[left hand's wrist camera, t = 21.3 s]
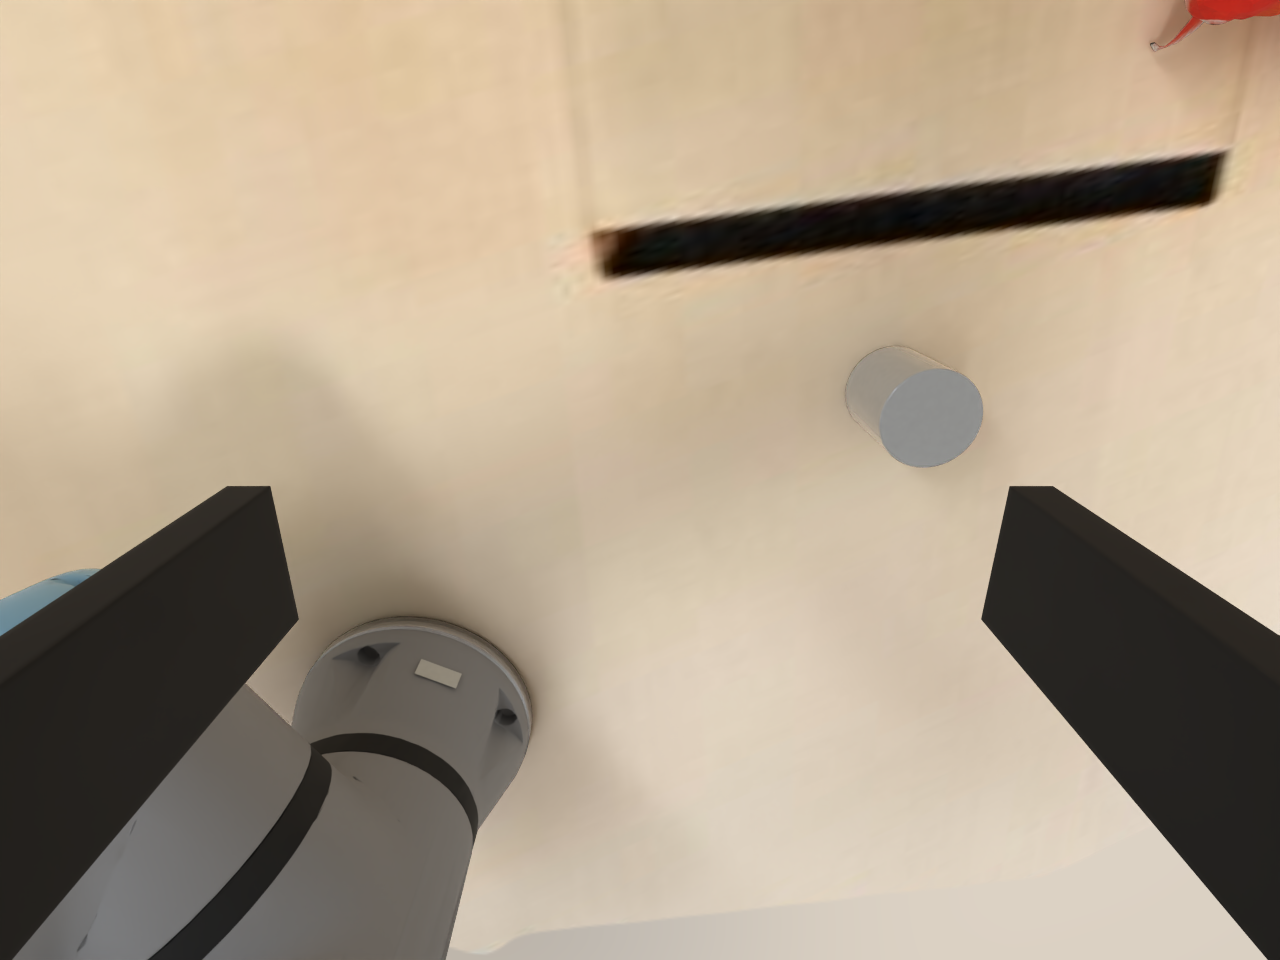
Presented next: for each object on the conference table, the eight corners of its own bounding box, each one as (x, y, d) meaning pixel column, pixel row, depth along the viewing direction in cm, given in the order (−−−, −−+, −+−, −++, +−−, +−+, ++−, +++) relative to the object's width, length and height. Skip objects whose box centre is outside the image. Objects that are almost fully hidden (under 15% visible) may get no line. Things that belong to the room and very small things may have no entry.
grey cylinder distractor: (897, 447, 40) (939, 485, 34) (827, 405, 39) (858, 437, 33) (952, 374, 38) (1005, 401, 33) (880, 328, 37) (923, 349, 32)
